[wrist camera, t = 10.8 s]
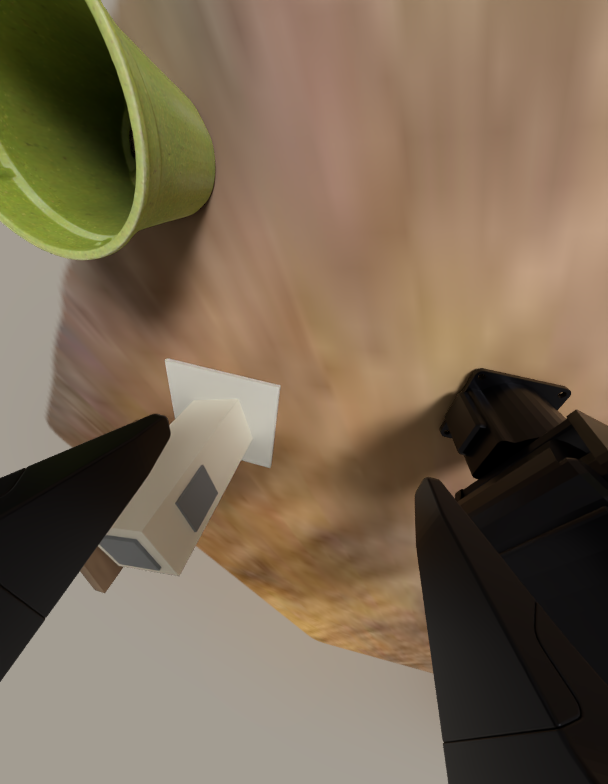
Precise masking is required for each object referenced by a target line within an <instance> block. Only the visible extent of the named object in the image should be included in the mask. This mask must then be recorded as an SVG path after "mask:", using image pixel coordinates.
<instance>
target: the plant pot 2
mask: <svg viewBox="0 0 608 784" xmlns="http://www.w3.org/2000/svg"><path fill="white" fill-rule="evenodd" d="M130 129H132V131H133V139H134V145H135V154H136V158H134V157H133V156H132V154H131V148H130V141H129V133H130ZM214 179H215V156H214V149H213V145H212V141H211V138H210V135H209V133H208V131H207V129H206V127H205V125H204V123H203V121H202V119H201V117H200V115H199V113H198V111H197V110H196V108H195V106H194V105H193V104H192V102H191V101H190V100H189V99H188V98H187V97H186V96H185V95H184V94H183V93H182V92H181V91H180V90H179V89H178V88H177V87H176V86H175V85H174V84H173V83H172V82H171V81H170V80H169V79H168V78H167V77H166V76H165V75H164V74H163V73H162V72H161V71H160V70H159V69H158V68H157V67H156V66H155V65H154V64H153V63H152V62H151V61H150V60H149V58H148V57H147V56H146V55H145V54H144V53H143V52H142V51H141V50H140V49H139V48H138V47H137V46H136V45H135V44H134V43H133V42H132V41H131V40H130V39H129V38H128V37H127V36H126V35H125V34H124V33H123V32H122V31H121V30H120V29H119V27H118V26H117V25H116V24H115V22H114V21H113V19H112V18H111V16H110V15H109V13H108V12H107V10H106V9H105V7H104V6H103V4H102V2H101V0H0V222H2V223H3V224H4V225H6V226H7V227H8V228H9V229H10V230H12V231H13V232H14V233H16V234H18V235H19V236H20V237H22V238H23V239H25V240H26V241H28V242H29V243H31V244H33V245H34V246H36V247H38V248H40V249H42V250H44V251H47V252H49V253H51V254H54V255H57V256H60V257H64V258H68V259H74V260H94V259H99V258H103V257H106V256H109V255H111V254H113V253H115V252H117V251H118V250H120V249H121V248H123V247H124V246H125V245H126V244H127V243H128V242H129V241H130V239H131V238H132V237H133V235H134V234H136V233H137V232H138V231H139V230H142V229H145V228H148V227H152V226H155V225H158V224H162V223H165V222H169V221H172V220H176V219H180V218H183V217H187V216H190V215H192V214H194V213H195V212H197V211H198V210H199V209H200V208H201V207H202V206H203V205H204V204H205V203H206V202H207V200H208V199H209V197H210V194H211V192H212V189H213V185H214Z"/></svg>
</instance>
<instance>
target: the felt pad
mask: <svg viewBox="0 0 608 784" xmlns="http://www.w3.org/2000/svg"><path fill="white" fill-rule="evenodd" d="M165 364H166V370H167V376H168V381H169V387H170V393H171V398H172V404H173V410H174V416H175V419H176V418H177V417H178V416H179V415H180V414H181V413H182V412H183V411H184V410H185V409H186V408H187V407H188V406H189V404H190V403H191V402H192V401H193V400H220V399H239V402H240V405H241V408H242V410H243V413H244V416H245V419H246V421H247V424H248V427H249V430H250V433H251V435H252V438H253V439H252V441H251V442H250V444H249V446H248V448H247V450H246V452H245V454H244V456H243V458H242V459H241V460H242V461H246V462H250V463H253V464H257V465H261V466H264V467H268V468H270V467H271V463H272V454H273V446H274V437H275V429H276V420H277V411H278V403H279V394H280V385H276V384H272V383H268V382H264V381H260V380H256V379H252V378H247V377H243V376H239V375H235V374H231V373H227V372H223V371H218V370H214V369H210V368H206V367H202V366H198V365H194V364H189V363H185V362H181V361H177V360H173V359H169V358H167V359H166V360H165Z"/></svg>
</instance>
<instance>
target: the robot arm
mask: <svg viewBox="0 0 608 784" xmlns="http://www.w3.org/2000/svg"><path fill="white" fill-rule="evenodd" d="M480 374H484V375H483V376H482V377H478V376H479V375H480ZM561 392H563V393H562V394H560V395H558V394H559V393H561ZM570 395H571V391H570V390H569V389H568V388H567V387H565V386H561V385H556V384H552V383H547V382H543V381H538V380H534V379H529V378H525V377H520V376H515V375H511V374H506V373H502V372H497V371H493V370H488V369H484V368H480V369H477V370H475V371H474V372H473V374H472V375H471V377H470V379H469V380H468V382H467V384H466V385H465V387H464V389H463V390H462V392H460V393H458V395H457V396H456V398H455V400H454V401H453V403H452V405H451V407H450V408H449V410H448V412H447V413H446V415H445V420H444V422H443V424H442V425H441V427H440V433H441V435H442V436H444V437H448V438H452V439H453V441H454V443H455V446H456V449H457V451H458V453H459V454H461V455H464V457H465V459H466V462H467V464H468V467H469V469H470V472H471V474H472V476H473V477H474V478H476V479H478V480H477V481H476V482H474V483H473V484H471V485H470V486H468V487H467V488H465V489H464V490H463V489H461V490H459V491H458V492H457V493H456V494H455V498H454V497H453V496H452V495H451V493H450V492H449V491H448V490H447V488H446V487H445V486H444V485H443V483H442V482H441V481H440V480H438V479H435V478H431V477H425V478H424V479H423V481H422V482H421V484H420V486H419V487H418V489H417V491H416V493H415V530H416V548H417V557H418V564H419V571H420V578H421V586H422V593H423V600H424V608H425V615H426V622H427V629H428V637H429V644H430V651H431V659H432V666H433V673H434V681H435V688H436V695H437V702H438V709H439V717H440V724H441V732H442V739H443V742H444V743H443V748H444V755H445V762H446V769H447V777H448V784H608V426H607V425H605V424H603V423H601V422H600V421H598V420H596V419H594V418H592V417H590V416H588V415H586V414H584V413H583V412H581V411H579V410H575V411H573V412H572V413H570V414H569V415H568V416H566V417H567V419H566V418H565V417H564V416H563V415H562V414H561V413H560V412H559V411H558V409H559V408H560V407H561V406H562V405H563V404H564V402H565V401H566V400H567V399H568V398H569V397H570ZM445 430H449V431H445ZM170 436H171V431H170V427H169V422H168V418H167V417H166V416H164V415H160V414H152V415H150V416H147V417H145V418H142V419H140V420H138V421H135V422H133V423H130V424H128V425H126V426H123V427H121V428H119V429H116V430H114V431H111V432H109V433H107V434H104V435H102V436H99V437H97V438H95V439H92V440H90V441H88V442H85V443H83V444H80V445H78V446H76V447H73V448H71V449H69V450H66V451H64V452H62V453H59V454H57V455H54V456H52V457H49V458H47V459H45V460H42V461H40V462H38V463H35V464H33V465H31V466H28V467H27V468H23V469H21V470H18V471H16V472H14V473H11V474H9V475H6V476H4V477H1V478H0V682H1V680H2V679H3V677H4V676H5V674H6V673H7V672H8V670H9V669H10V668H11V666H12V665H13V664H14V662H15V661H16V659H17V658H18V657H19V655H20V654H21V652H22V651H23V650H24V648H25V647H26V645H27V644H28V643H29V641H30V640H31V638H32V637H33V636H34V634H35V633H36V632H37V630H38V629H39V627H40V626H41V625H42V623H43V622H44V620H45V618H46V617H47V616H48V614H49V613H50V612H51V610H52V609H53V608H54V606H55V605H56V603H57V602H58V601H59V599H60V598H61V596H62V595H63V593H64V592H65V591H66V590H67V588H68V587H69V585H70V584H71V583H72V581H73V580H74V578H75V577H76V576H77V574H78V573H79V571H80V570H81V569H82V567H83V566H84V565H85V563H86V562H87V560H88V559H89V558H90V556H91V555H92V553H93V552H94V551H95V549H96V548H97V546H98V545H99V544H100V542H101V541H102V540H103V538H104V537H105V535H106V534H107V533H108V531H109V530H110V528H111V527H112V526H113V524H114V523H115V521H116V520H117V519H118V517H119V516H120V515H121V513H122V512H123V510H124V509H125V508H126V506H127V505H128V503H129V502H130V501H131V499H132V498H133V496H134V495H135V494H136V492H137V491H138V489H139V488H140V487H141V485H142V484H143V483H144V481H145V480H146V478H147V477H148V475H149V473H150V472H151V470H152V469H153V467H154V465H155V463H156V462H157V460H158V458H159V456H160V455H161V453H162V451H163V449H164V448H165V446H166V444H167V442H168V441H169V439H170Z"/></svg>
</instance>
